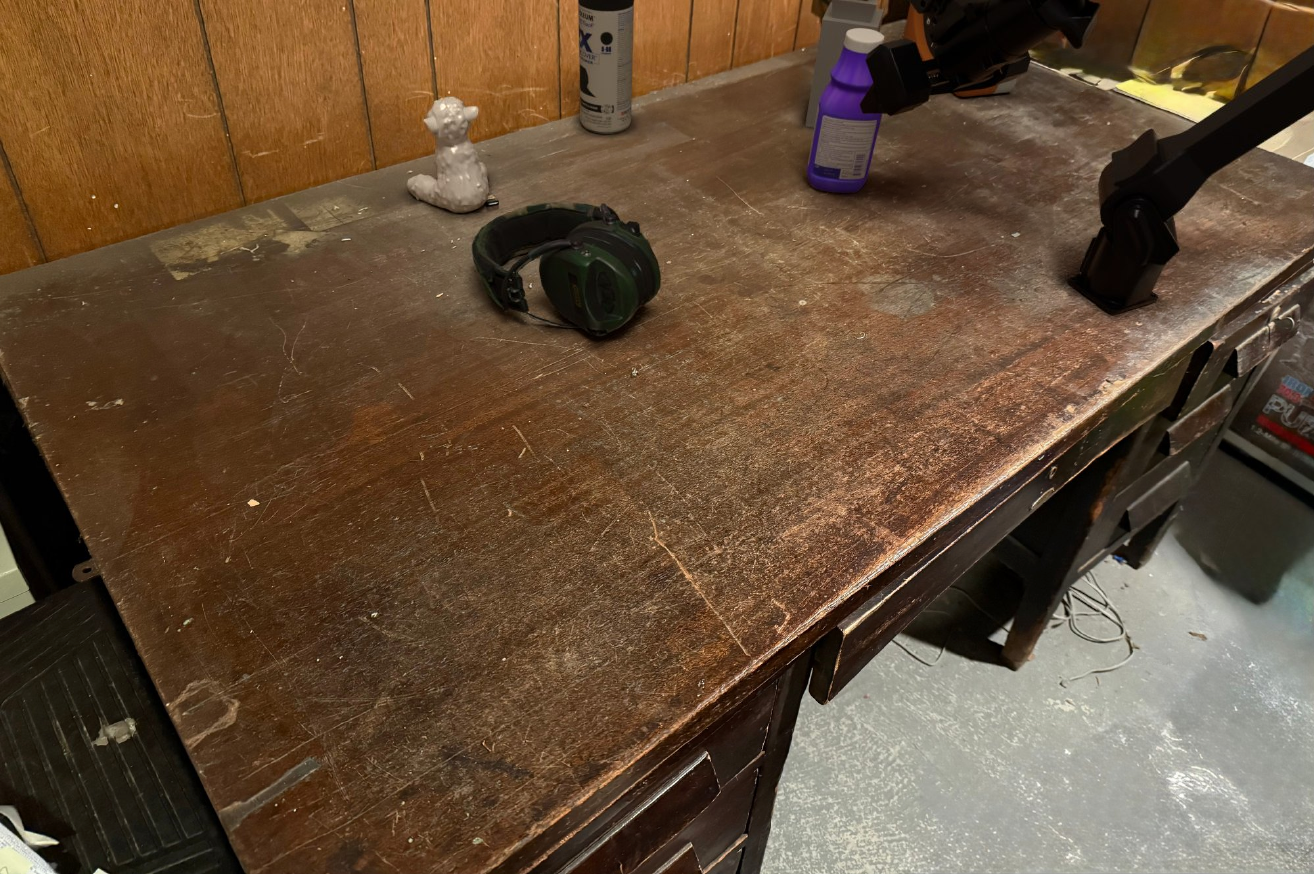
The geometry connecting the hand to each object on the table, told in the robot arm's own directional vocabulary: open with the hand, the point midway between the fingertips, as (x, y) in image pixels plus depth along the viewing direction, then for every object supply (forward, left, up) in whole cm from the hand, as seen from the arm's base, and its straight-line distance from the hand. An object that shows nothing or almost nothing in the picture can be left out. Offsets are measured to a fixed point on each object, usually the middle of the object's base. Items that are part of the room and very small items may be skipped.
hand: (893, 100), depth 94 cm
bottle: (+6, +1, -13) cm, 14 cm away
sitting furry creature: (+19, +43, -13) cm, 48 cm away
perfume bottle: (+21, -9, -13) cm, 26 cm away
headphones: (-3, +39, -13) cm, 41 cm away
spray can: (+31, +20, -13) cm, 39 cm away
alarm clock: (+28, -35, -13) cm, 47 cm away
